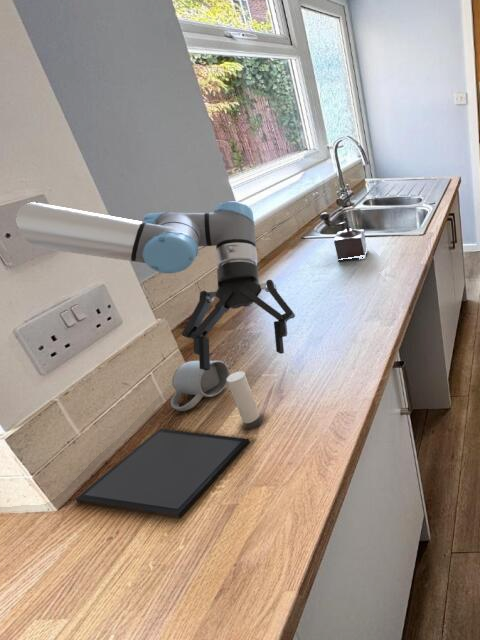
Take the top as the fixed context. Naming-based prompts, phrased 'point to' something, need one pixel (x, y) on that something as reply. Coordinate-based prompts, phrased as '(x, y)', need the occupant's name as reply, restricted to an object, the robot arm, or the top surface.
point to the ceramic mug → (198, 382)
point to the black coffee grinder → (347, 240)
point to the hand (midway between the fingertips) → (243, 360)
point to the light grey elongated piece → (244, 399)
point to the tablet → (165, 473)
